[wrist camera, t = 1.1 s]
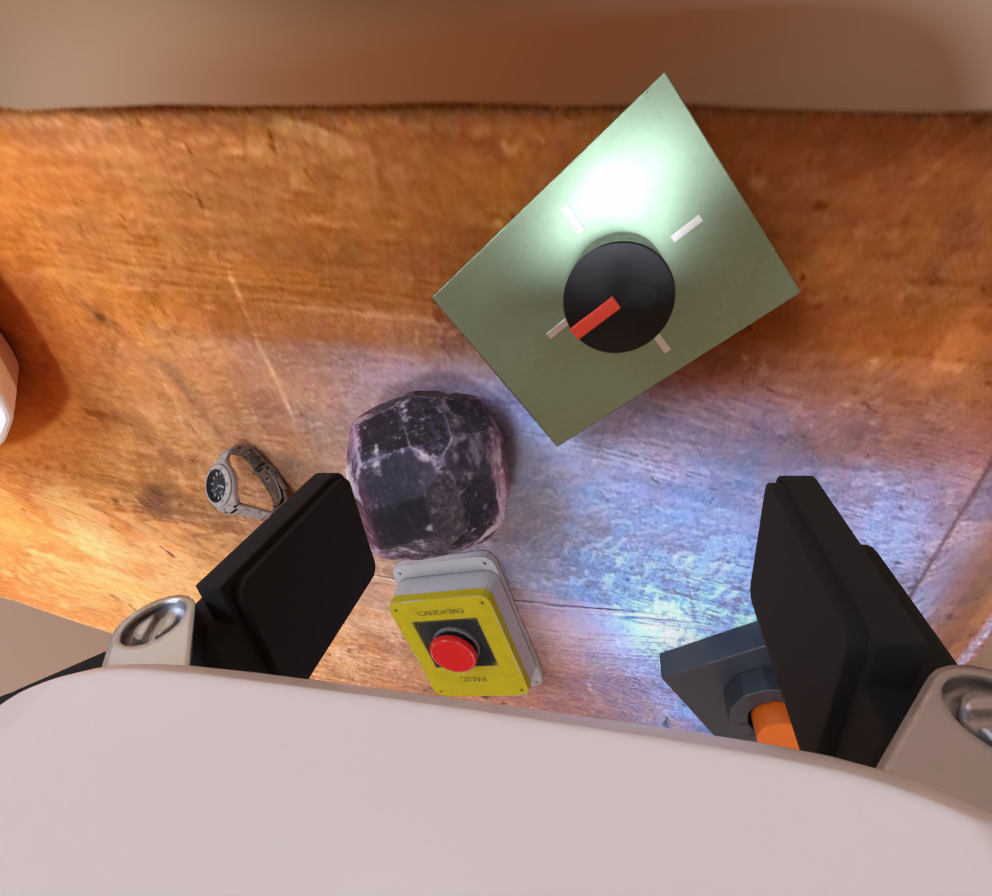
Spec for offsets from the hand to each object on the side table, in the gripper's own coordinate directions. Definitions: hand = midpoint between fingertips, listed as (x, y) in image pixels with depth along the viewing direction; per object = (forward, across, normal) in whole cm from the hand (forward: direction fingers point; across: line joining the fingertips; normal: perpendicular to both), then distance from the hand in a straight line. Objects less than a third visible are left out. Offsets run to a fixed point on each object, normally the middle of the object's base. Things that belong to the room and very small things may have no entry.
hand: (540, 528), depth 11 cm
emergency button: (+19, +11, +25) cm, 33 cm away
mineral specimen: (+19, +10, +7) cm, 23 cm away
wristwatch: (+19, +26, +10) cm, 34 cm away
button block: (+19, -12, +28) cm, 36 cm away
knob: (+16, -2, -3) cm, 16 cm away
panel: (+19, -1, -2) cm, 19 cm away
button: (+16, -12, +28) cm, 34 cm away
